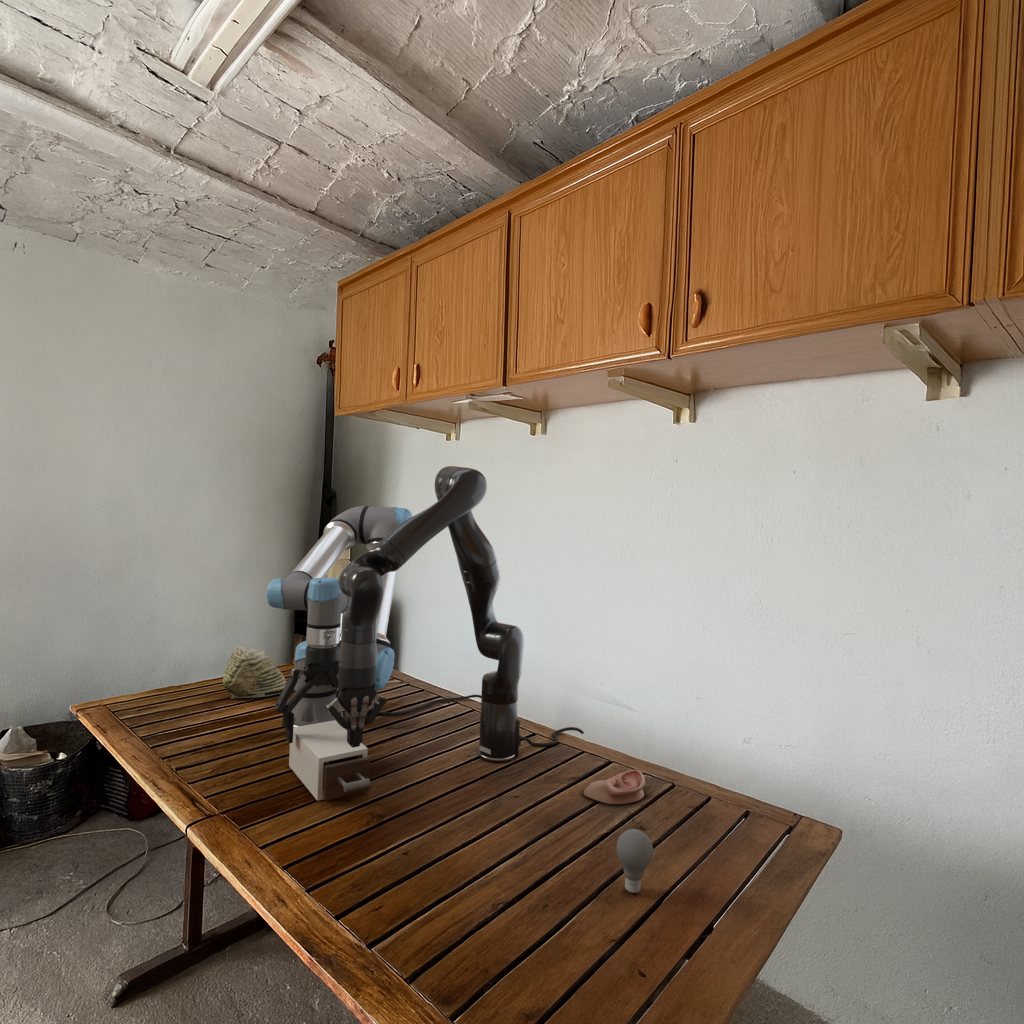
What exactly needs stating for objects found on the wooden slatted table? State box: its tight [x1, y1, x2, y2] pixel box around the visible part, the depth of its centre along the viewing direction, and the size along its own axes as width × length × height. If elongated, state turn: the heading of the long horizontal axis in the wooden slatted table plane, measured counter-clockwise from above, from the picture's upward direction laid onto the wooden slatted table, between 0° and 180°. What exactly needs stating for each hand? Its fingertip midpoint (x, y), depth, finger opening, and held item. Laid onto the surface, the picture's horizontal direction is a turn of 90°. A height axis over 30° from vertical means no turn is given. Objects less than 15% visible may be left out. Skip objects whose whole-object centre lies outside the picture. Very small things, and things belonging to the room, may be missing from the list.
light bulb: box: [615, 828, 654, 894], centre depth 106 cm, size 6×6×10 cm
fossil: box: [222, 646, 287, 699], centre depth 198 cm, size 9×18×15 cm, turn 132°
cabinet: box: [288, 720, 369, 802], centre depth 143 cm, size 20×11×9 cm, turn 36°
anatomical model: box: [582, 769, 646, 805], centre depth 141 cm, size 13×4×12 cm
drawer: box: [323, 755, 371, 802], centre depth 138 cm, size 24×10×7 cm, turn 36°
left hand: (319, 736), depth 147 cm, fingers open, 13 cm apart
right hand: (354, 745), depth 130 cm, fingers closed
